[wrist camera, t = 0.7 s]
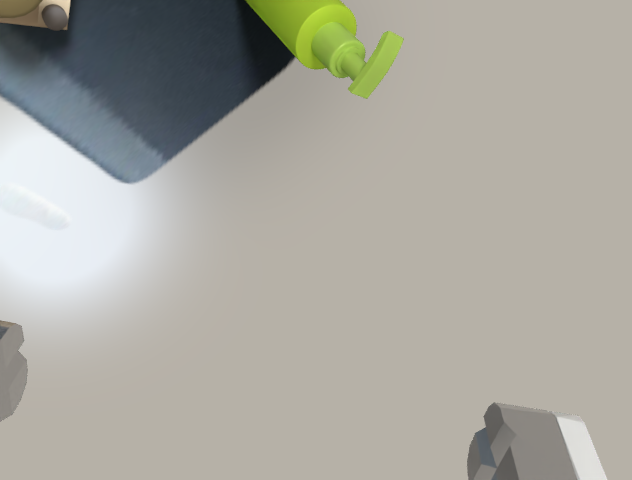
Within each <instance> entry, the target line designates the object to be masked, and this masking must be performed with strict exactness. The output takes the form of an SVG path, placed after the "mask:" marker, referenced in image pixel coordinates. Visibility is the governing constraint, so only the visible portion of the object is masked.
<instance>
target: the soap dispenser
mask: <svg viewBox="0 0 632 480" xmlns="http://www.w3.org/2000/svg"><path fill="white" fill-rule="evenodd" d="M245 1H246V2H247V3H248V4H249V5H250V6H251V7H252V9H253V10H254V11H255V12H256V13H257V14H258V15H259V16H260V18H261V19H262V20H263V21H264V22H265V23H266V24H267V25H268V26H269V28H270V29H271V30H272V31H273V32H274V33H275V34H276V35H277V37H278V38H279V39H280V40H281V41H282V42H283V43H284V44H285V45H286V47H287V48H288V49H289V50H290V51H291V52H292V53H293V54H294V56H295V57H296V58H297V59H298V60H299V61H300V62H301V63H302V64H303V65H304V66H306V67H308V68H310V69H324V68H327V69H328V70H329V71H330V72H331V73H332V74H333V75H334V76H335V77H338V78H345V77H348V76H349V77H350V78H351V79H352V80H353V83H352V84H351V85H350V87H349V88H348V90H349V91H350V92H351V93H353V94H355V95H358V96H361V97H363V98H366V99H367V98H368V97H369V96H370V94H371V93H372V92H373V91H374V89H375V88H376V87H377V85H378V84H379V83H380V82H381V80H382V79H383V77H384V76H385V75H386V73H387V72H388V70H389V68H390V67H391V65H392V64H393V62H394V59H395V58H396V56H397V54H398V52H399V50H400V47H401V45H402V43H403V40H404V39H403V38H402V37H400V36H398V35H396V34H394V33H392V32H391V31H387V32H385V33H383V35H382V37H381V39H380V41H379V43H378V45H377V47H376V49H375V51H374V52H373V54H372V56H371V57H370V59H369V60H368V62H367V63H366V62H365V61H364V58H365V48H364V46H363V44H362V43H361V42H360V41H359V40H358V39H357V38H356V37H355V35H356V20H355V17H354V15H353V13H352V12H351V10H350V9H348V8H347V7H346V6H345V5H344V4H343V3H342V2H341V1H340V0H245Z"/></svg>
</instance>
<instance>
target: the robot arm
mask: <svg viewBox="0 0 632 480" xmlns="http://www.w3.org/2000/svg"><path fill="white" fill-rule="evenodd" d="M23 342H24V338H23V332H22V326H20V325H18V324H16V323H11V322H5V321H0V421H2V420H4V419H5V418H7V417H8V416H10V415H12V414H13V412H14V411H15V409H16V407H17V405H18V403H19V402H20V400H21V397H22V394H23V391H24V388H25V385H26V380H27V361H26V359H25V358H24V357H23V356H22V355H21V353H20V352H19V351H18V349H19V348H20V346H21V345H22V343H23ZM484 420H485V425H486V427H485V428H484V429H482V430H480V431H478V432H476V433H475V435H474V437H473V440H472V442H471V444H470V447H469V454H468V460H467V469H468V479H469V480H607V478H606V475H605V473H604V470H603V468H602V465H601V463H600V460H599V458H598V456H597V453H596V451H595V448H594V446H593V443H592V441H591V438H590V436H589V433H588V431H587V429H586V426H585V423H584V421H583V420H582V419H581V418H580V417H579V416H578V415H571V414H565V413H558V412H552V411H549V412H548V411H546V410H540V409H533V408H526V407H520V406H514V405H507V404H501V403H493V404H491V405H490V406H489V407H488V409H487V411H486V413H485V415H484Z"/></svg>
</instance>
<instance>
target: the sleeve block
mask: <svg viewBox="0 0 632 480" xmlns="http://www.w3.org/2000/svg"><path fill="white" fill-rule="evenodd" d="M69 8H70V0H42V2H41V3H40V4H39V5H38V7H37V8H36V9H35V10H33V11H32V12H30V13H28V14H27V15H25V16H21V17H17V18H0V22H1V23H10V24H19V25H28V26H37V27H46V28H49V29H51V30H55V31H58V30H62V29H64V30H67V25H68V17H69Z"/></svg>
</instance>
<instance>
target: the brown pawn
mask: <svg viewBox="0 0 632 480" xmlns="http://www.w3.org/2000/svg"><path fill="white" fill-rule="evenodd" d="M41 2H42V0H0V18H17V17H21V16H25V15H27V14H28V13H30V12H32V11H33V10H35V9H36V8H37V7H38V5H39V4H40V3H41Z"/></svg>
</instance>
